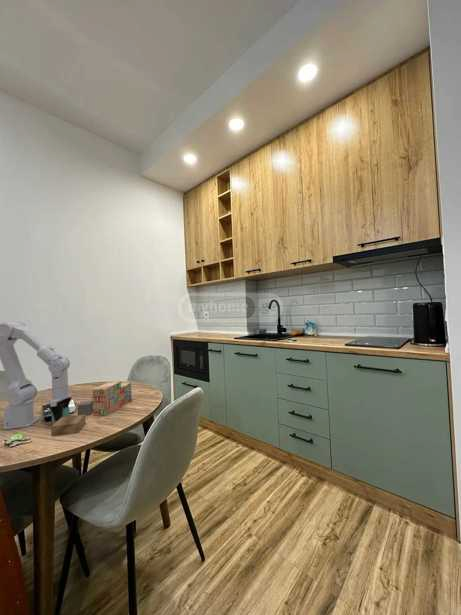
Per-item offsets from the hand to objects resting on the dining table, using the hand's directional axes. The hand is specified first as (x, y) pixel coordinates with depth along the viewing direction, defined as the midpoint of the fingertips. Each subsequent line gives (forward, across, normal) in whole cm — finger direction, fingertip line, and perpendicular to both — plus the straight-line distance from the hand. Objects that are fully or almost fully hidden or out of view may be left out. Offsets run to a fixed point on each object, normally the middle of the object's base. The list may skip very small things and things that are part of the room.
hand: (60, 417), depth 110 cm
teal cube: (+1, 0, 0) cm, 1 cm away
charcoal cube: (+2, +6, -8) cm, 10 cm away
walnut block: (+2, -11, -7) cm, 13 cm away
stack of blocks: (+2, +10, -19) cm, 22 cm away
